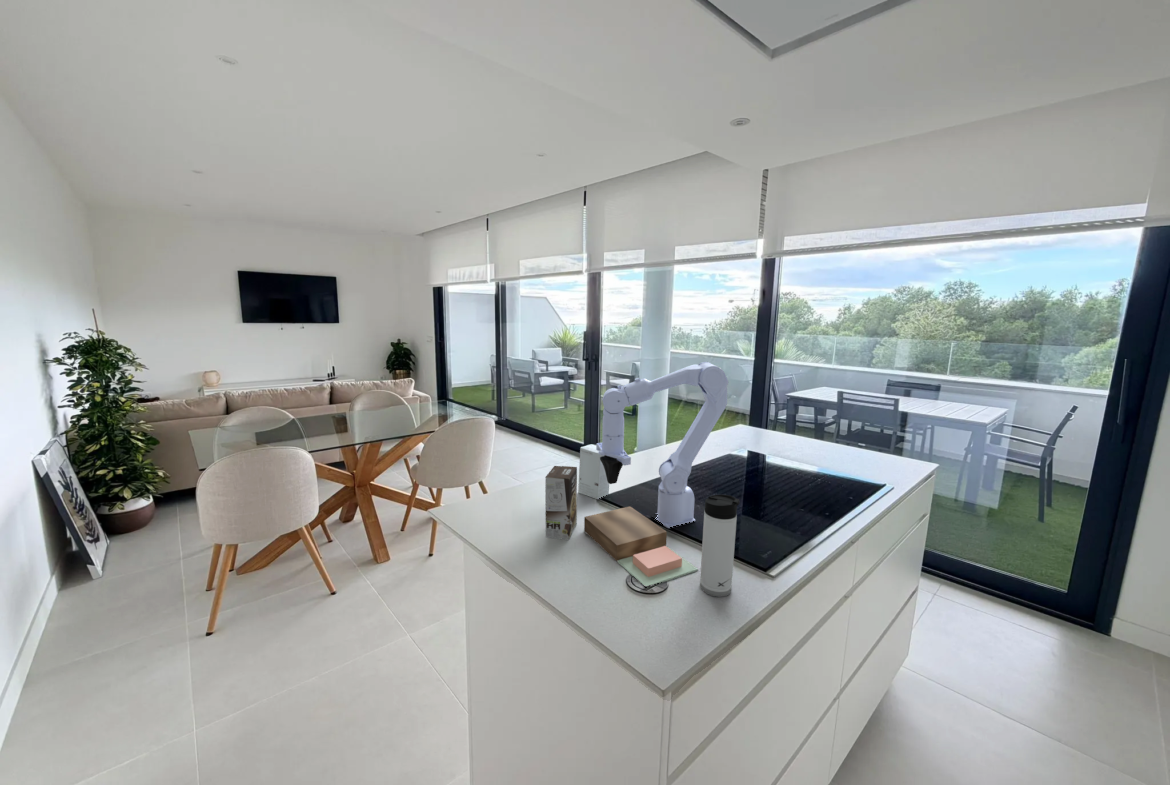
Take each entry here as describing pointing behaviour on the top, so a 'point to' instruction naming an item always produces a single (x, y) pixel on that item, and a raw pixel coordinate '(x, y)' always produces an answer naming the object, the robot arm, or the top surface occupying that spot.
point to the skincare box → (592, 473)
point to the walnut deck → (624, 532)
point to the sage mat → (658, 578)
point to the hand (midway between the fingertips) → (612, 482)
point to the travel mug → (718, 544)
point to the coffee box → (561, 502)
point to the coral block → (657, 561)
